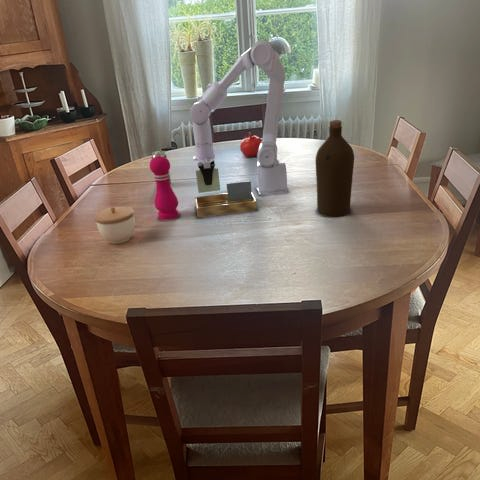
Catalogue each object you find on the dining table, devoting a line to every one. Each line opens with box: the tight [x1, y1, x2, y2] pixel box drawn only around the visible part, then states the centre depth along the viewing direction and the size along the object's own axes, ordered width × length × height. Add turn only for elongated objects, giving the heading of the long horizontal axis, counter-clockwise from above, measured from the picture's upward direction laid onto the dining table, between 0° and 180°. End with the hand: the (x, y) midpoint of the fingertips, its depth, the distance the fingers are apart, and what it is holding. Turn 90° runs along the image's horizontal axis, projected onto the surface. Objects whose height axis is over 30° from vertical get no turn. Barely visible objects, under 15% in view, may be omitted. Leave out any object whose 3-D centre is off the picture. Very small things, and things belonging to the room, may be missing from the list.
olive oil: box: [315, 119, 355, 218], centre depth 135 cm, size 11×11×25 cm
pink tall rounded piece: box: [150, 150, 172, 185], centre depth 173 cm, size 5×5×12 cm
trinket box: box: [93, 206, 136, 244], centre depth 135 cm, size 11×11×9 cm
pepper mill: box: [149, 150, 180, 221], centre depth 144 cm, size 7×7×20 cm
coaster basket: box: [194, 192, 258, 218], centre depth 150 cm, size 18×11×3 cm, turn 97°
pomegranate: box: [239, 132, 262, 158], centre depth 199 cm, size 10×10×9 cm
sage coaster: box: [195, 167, 221, 194], centre depth 161 cm, size 8×1×8 cm, turn 97°
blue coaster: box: [225, 180, 253, 202], centre depth 149 cm, size 8×1×8 cm, turn 97°
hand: (208, 184), depth 162 cm, fingers closed on sage coaster, 1 cm apart
